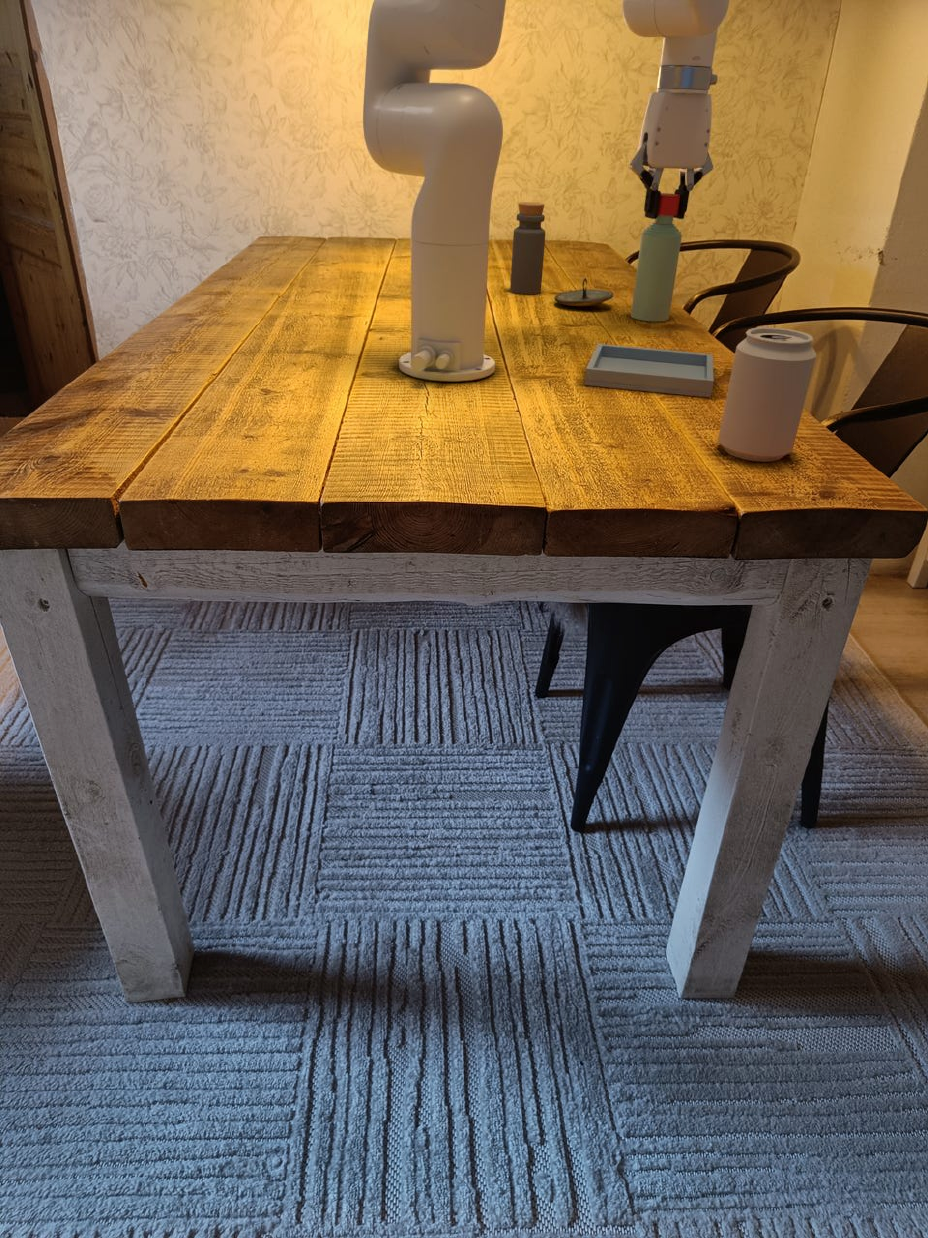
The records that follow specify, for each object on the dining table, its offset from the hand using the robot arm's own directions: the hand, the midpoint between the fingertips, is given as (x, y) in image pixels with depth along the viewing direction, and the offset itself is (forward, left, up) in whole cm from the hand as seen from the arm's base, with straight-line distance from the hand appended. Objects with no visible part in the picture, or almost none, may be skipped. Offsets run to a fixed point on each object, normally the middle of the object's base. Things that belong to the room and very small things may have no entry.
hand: (664, 216), depth 133 cm
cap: (0, 0, 0) cm, 0 cm away
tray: (-38, -2, -15) cm, 41 cm away
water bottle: (0, 0, -15) cm, 15 cm away
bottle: (+14, +24, -16) cm, 32 cm away
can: (-63, -14, -16) cm, 66 cm away
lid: (+5, +12, -16) cm, 20 cm away
